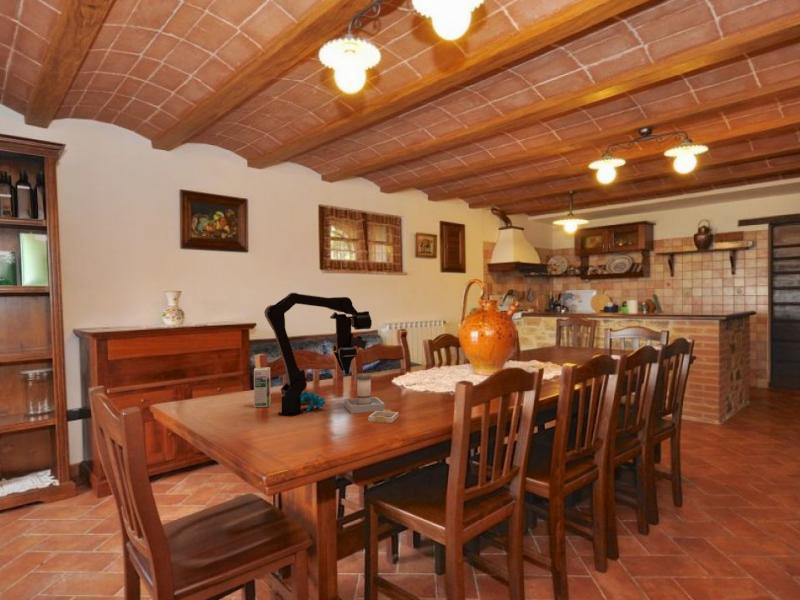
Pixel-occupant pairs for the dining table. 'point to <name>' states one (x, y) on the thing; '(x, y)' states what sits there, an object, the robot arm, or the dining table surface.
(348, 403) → the parts tray
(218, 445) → the dining table surface
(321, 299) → the robot arm
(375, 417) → the shallow beige tray
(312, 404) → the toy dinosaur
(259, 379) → the syrup box
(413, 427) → the dining table surface
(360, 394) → the fuse
